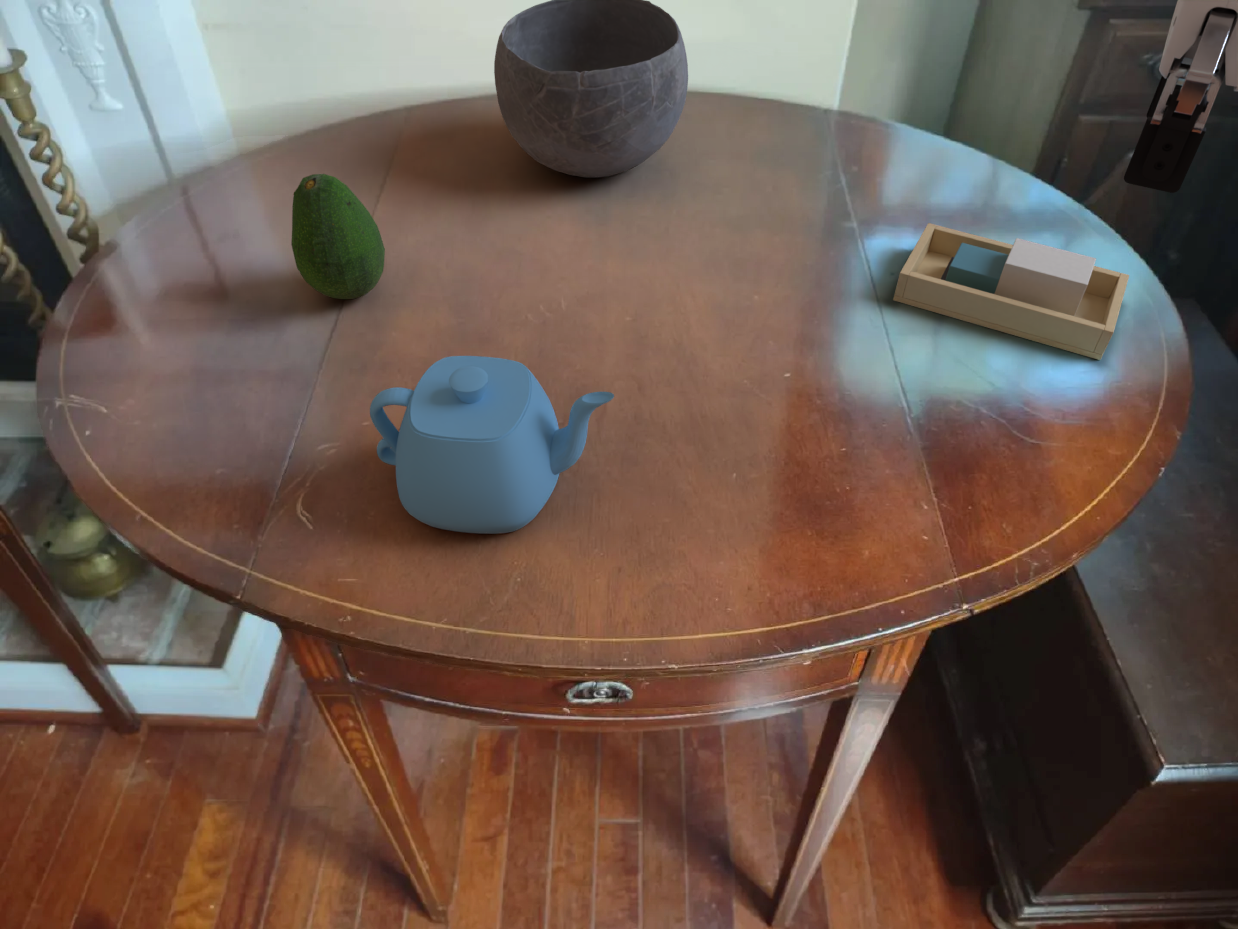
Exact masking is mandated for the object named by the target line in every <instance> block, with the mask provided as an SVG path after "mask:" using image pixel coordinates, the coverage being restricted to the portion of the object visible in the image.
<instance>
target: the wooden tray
mask: <svg viewBox="0 0 1238 929" xmlns="http://www.w3.org/2000/svg"><path fill="white" fill-rule="evenodd" d="M961 243H966V244H969V245H973V246H977V247H981V248H985V249H988V250H992V251H996V252H1000V253H1004V254H1007V255H1009V253H1010V251H1011V249H1012V247H1013V244H1011V243H1009V242H1008V243H1007V242H1004V241H1000V240H996V239H992V238H988V237H985V236H980V235H976V234H973V233H969V232H965V231H962V230H958V229H953V228H949V227H946V226H943V225H938V224H935V223H930V222H928V223H927V224H926V227H925V228H924V230H923V231H922V233H921V235H920V236H919V238H918V240H917V242H916V244H915V245H914V247H913V249H912V251H911V252H910V254H909V256H908V258H907V260H906V262H905V263H904V265H903V266H902V268H901V270H900V272H899V274H898V279H897V283H896V286H895V290H894V295H893V298H892V301H894V302H897V303H901V304H904V305H908V306H911V307H915V308H918V309H922V310H925V311H929V312H932V313H936V314H939V315H943V316H945V317H950V318H953V319H957V320H961V321H962V322H967V323H971V324H973V325H977V326H979V327H984V328H987V329H991V330H995V331H998V332H1002V333H1004V334H1009V335H1011V336H1015V337H1019V338H1022V339H1025V340H1028V341H1032V342H1036V343H1039V344H1042V345H1046V346H1050V347H1054V348H1056V349H1059V350H1063V351H1067V352H1070V353H1074V354H1077V355H1081V356H1083V357H1088V358H1091V359H1095V360H1099V361H1101V360H1102V358H1103V357H1104V356H1103V355H1104V354H1105V352H1106V350H1107V347H1108V346H1109V342H1110V341H1111V339H1112V337H1113V335H1114V332H1115V330H1116V325H1117V322H1118V318H1119V315H1120V310H1121V307H1122V303H1123V301H1124V297H1125V293H1126V290H1127V286H1128V282H1129V279H1130V274H1127V273H1124V272H1120V271H1116V270H1111V269H1108V268H1104V267H1102V266H1101V267H1100V266H1097V265H1094V267H1093V270H1092V273H1091V276H1090V279H1089V282H1088V285H1087V288H1086V290H1085V292H1084V295H1083V297H1082V299H1081V302H1080V304H1079V306H1078V309H1077V311H1076V313H1075V316H1071V315H1067V314H1064V313H1060V312H1057V311H1053V310H1049V309H1046V308H1042V307H1039V306H1035V305H1031V304H1028V303H1024V302H1020V301H1017V300H1013V299H1010V298H1006V297H1002V296H999V295H995V294H992V293H988V292H984V291H981V290H977V289H974V288H970V287H966V286H963V285H959V284H956V283H952V282H948V281H945V280H941V277H942V275H943V273H944V271H945V269H946V267H947V265H948V263H949V262H950V260H951V258H952V257H955V255H956V253H957V251H958V249H959V247H960V245H961Z"/></svg>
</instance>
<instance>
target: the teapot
mask: <svg viewBox="0 0 1238 929" xmlns="http://www.w3.org/2000/svg"><path fill="white" fill-rule="evenodd" d="M614 398H615V394H614V393H613V392H611V391H593V392H589V393H586V394H585V393H584V394H583V395H581V396H579V397H578V398H577V399H575V401H574V402H573V404H572V406H571V408H570V411H569V415H568V416H569V417H568V421H567V425H566V426H564V427H562V428H561V427H560V426H559V422H558V419H557V415H556V412H555V410H554V407H553V404H552V402H551V400H550V397H549V396H548V395H547V393H546V391H545V390H544V388H543V386H542V385H541V383H540V382H539V381H538V379H537V378H536V376H535V375H534V374H533V372H532V371H531V370H530V369H529V368H528V367H527V366H526V365H525V364H523V363H522V362H519V361H517V360H512V359H508V358H502V357H492V356H482V355H481V356H480V355H452V356H445V357H443V358H441V359H439V360H437V361H435V362H434V363H432V364H431V365H430V366H429V367H428V368H427V369H426V371H425V372H424V373H423V375H422V376H421V377H420V378H419V380H418V382H417V384H416V385H415V388H414V390H413V389H411V388H407V387H399V386H397V387H396V386H395V387H389V388H386V389H383V390H381V391H379V392H378V393H377V394H376V395H375V396H374V397H373V399H372V401H371V403H370V407H369V416H370V419H371V422H372V425H373V426H374V427H375V429H376V431H377V433H378V434H379V435H380V436H381V437H382V438H381V439H380V440H379V441H378V442H377V445H376V454H377V457H378V459H379V460H380V461H381V462H383V463H385V464H388V465H390V466H395V480H396V487H397V488H396V489H397V494H398V498H399V500H400V504H401V506H402V507H403V508H404V510H405V511H406V512H407V513H408V514H409V515H410V516H412V517H413V518H414V519H415V520H418V521H420V522H421V523H423V524H425V525H428V526H429V527H433V528H436V529H440V530H446V531H452V532H456V533H457V532H458V533H467V534H483V535H484V534H486V535H488V534H489V535H491V534H492V535H493V534H494V535H495V534H507V533H512V532H516V531H519V530H521V529H522V528H524V527H525V526H527V525H528V524H529V523H531V522H532V521H533V520H534V519H535V518H536V517H537V516H538V514H540V512H541V510H542V509H543V508H544V507H545V505H546V504H547V502H548V501H549V500H550V498H551V495H552V494H553V492H554V490H555V488H556V485H557V483H558V481H559V477H560V474H561V473H563V472H565V471H568V470H569V469H571V467H573V466H574V465H576V463H577V462H578V460H579V459H580V458H581V456H582V454H583V453H584V449H585V446H586V443H587V438H588V432H589V431H588V430H589V422H590V418H591V416H592V414H593V413H594V411H595V410H596V409H597V408H600V407H601V406H603V405H605V404H607V403H610V402H611V401H612V400H613V399H614ZM387 406H400V407H406V408H405V411H404V414H403V417H402V419H401V423H400V427H399V429H397V427H396V426H395V424H394V423H393V422H392V421H391V419H390V418H389V416H388V415H387V414H386V411H385V409H384V407H387Z"/></svg>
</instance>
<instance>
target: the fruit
mask: <svg viewBox="0 0 1238 929" xmlns="http://www.w3.org/2000/svg"><path fill="white" fill-rule="evenodd" d="M291 209H292V214H291V215H292V217H291V244H290V245H291V249H292V253H293V258H294V262H295V266H296V269H297V271H298V272H299V273H300V276H301V277H302V278H303V279H304V281H305V282H306V283H307V284H308V285H309V286H310V287H311V288H313V290H315V291H316V292H318V293H321V294H322V295H324V296H326V297H329V298H332V299H338V300H351V299H357V298H359V297H363V296H365V295H367V294H368V293H369V292H371V291H372V290H373V289H374V288H375V287H376V286H377V285H378V283H379V281H380V279H381V277H382V275H383V273H384V269H385V257H386V256H385V253H386V248H385V244H384V241H383V238H382V235H381V232H380V229H379V226H378V224H377V223H376V221H375V219H374V217H373V216H372V215H371V213H370V211H369V210H368V209H367V207H366V206H365V205H364V203H362V201H361V200H360V198H358V197H357V195H356V194H355V193H354V192H353V191H352V190H351V189H350V187H348V185H347V184H345V183H344V182H343V181H341V180H340V179H338V178H337V177H335V176H333V175H329V174H326V173H315V174H310V175H308V176H305V177H303V178H302V179H301V181H300V182H299V184H298V186H297V188H296V189H295V190H294V192H293V198H292V207H291Z"/></svg>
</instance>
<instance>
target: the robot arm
mask: <svg viewBox="0 0 1238 929" xmlns="http://www.w3.org/2000/svg"><path fill="white" fill-rule="evenodd" d="M1158 71H1159V73H1160V75H1161V77H1160V79H1159V81H1158V85H1157V86H1156V90H1155V92H1154V94H1153V97H1152V100H1151V102H1150V105H1149V107H1148V108H1147V109H1148V110H1147V112H1146V120H1145V123H1144V125H1143V128H1142V130H1141V132H1140V135H1139V138H1138V140H1137V143H1136V145H1135V147H1134V150H1133V152H1132V155H1131V158H1130V159H1129V162H1128V165H1127V168H1126V170H1125V173H1124V175H1123V181H1124V182H1125V183H1126V184H1129V185H1132V186H1133V185H1134V186H1138V187H1142V188H1143V187H1144V188H1147V189H1152V190H1156V191H1160V192H1165V193H1171V194H1174V193H1177V192H1178V191H1180V190H1181V188H1182V185H1183V183H1184V181H1185V178H1186V177H1187V174H1188V172H1189V169H1190V168H1191V165H1192V163H1193V161H1194V160H1195V159H1194V158H1195V156H1196V154H1197V152H1198V150H1199V147H1200V145H1201V143H1202V141H1203V139H1204V137H1205V134H1206V132H1207V127H1205V126H1206V123H1207V121H1208V119H1209V117H1210V116H1209V115H1210V113H1211V110H1212V108H1213V105H1214V104H1215V101H1216V98H1217V95H1218V93H1219V90H1220V88H1221V86H1222V84H1223V82H1225V86H1228V87H1233V92H1238V0H1177V1H1176V4H1175V8H1174V11H1173V14H1172V18H1171V21H1170V25H1169V29H1168V32H1167V36H1166V40H1165V43H1164V47H1163V52H1162V56H1161V59H1160V63H1159V67H1158ZM1224 79H1225V81H1224Z"/></svg>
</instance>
